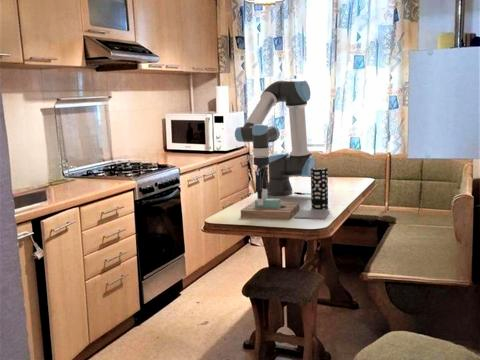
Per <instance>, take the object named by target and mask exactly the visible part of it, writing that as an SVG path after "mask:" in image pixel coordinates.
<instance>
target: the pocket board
mask: <svg viewBox="0 0 480 360" xmlns="http://www.w3.org/2000/svg"><path fill="white" fill-rule="evenodd" d="M300 209H301V208H300V202H283V201H281V208H258V207H255V200H254V201H252V202H251V203H249V204H248V205H246V206H245V207H244V208H242V209H240V218H243V219H244V217H245V218H247V219H248V218H249V219H271V220H291V219H292V218H293V217H295V216H296V215H297V214H298V213H299V212H300V211H301V210H300Z"/></svg>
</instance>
